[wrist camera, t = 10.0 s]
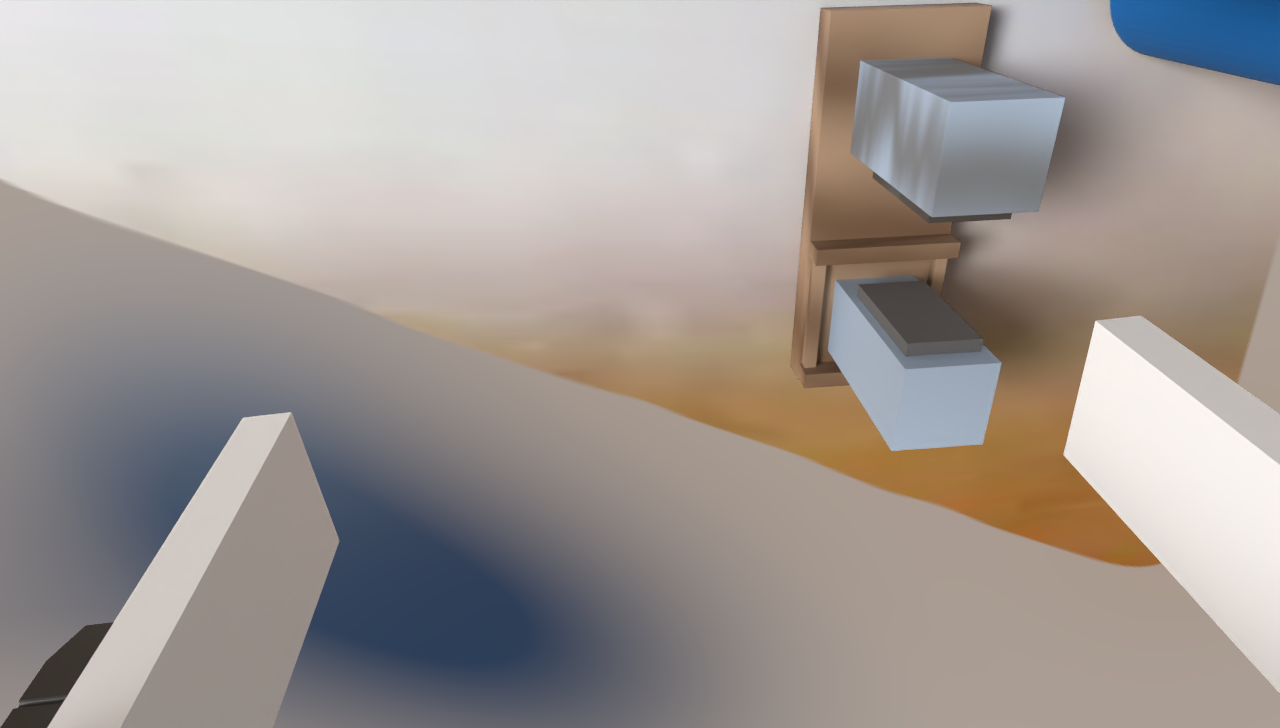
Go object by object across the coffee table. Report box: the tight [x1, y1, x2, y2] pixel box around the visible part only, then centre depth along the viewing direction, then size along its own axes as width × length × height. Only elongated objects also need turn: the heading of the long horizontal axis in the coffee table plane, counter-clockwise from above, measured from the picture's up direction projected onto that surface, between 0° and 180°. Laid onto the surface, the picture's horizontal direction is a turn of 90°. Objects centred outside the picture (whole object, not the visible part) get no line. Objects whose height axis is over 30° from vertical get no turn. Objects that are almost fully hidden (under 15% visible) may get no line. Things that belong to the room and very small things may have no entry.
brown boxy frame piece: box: [790, 3, 1066, 388], centre depth 34 cm, size 18×7×10 cm, turn 1°
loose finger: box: [828, 275, 1002, 451], centre depth 36 cm, size 5×4×9 cm
